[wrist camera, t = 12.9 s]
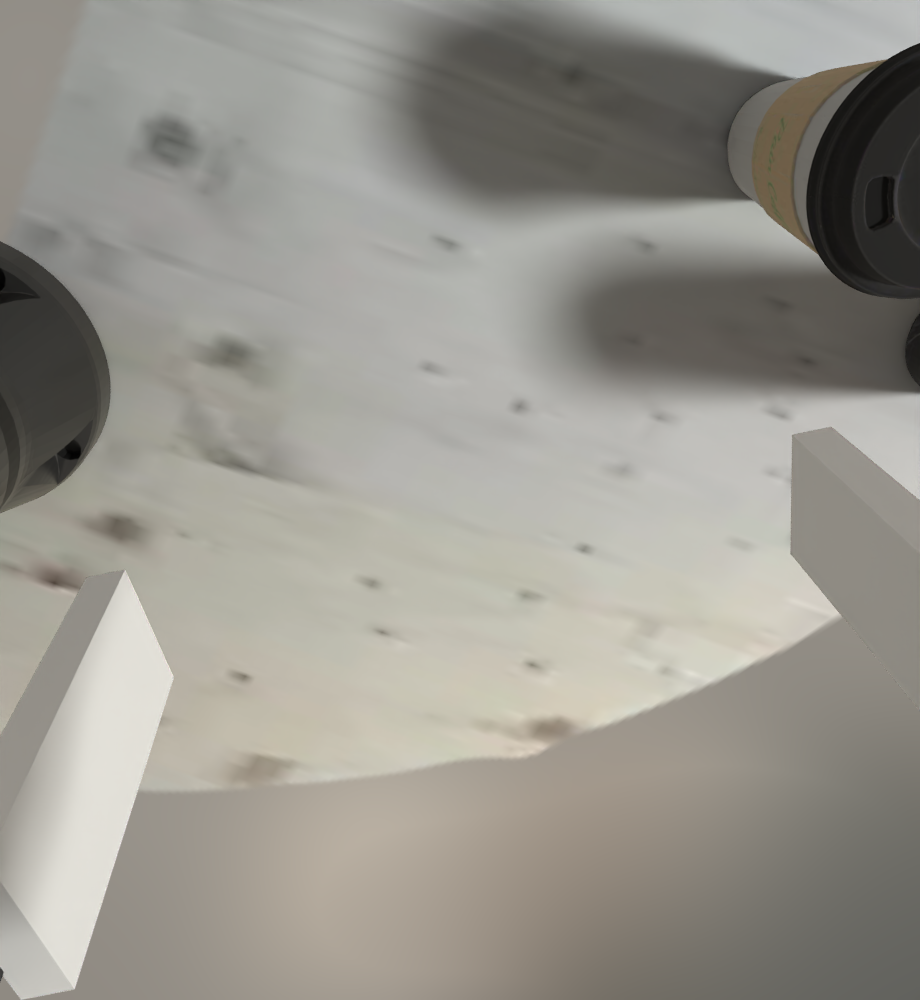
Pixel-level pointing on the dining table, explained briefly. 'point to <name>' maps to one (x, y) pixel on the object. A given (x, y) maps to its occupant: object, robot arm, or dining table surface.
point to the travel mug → (914, 351)
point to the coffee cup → (841, 168)
